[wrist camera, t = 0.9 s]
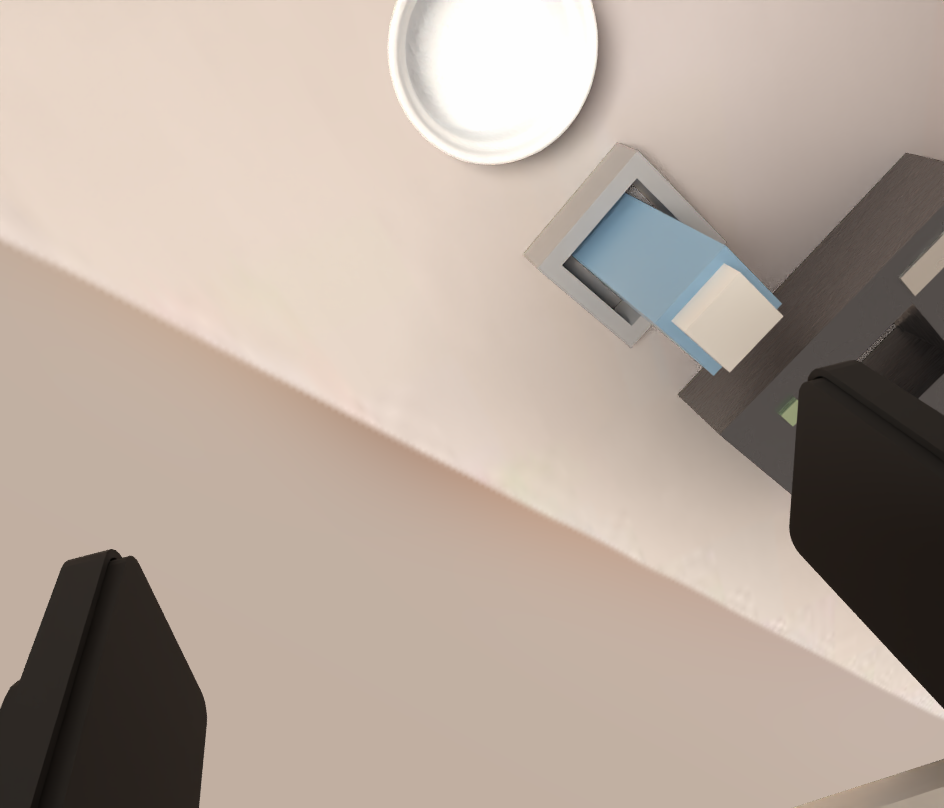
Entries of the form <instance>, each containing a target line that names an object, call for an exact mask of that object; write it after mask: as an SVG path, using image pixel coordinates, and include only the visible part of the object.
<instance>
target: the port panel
mask: <svg viewBox="0 0 944 808" xmlns="http://www.w3.org/2000/svg"><path fill="white" fill-rule="evenodd" d="M773 295H774V296H775V297H776V298H777V299H778V300H779V301H780V302H781V303H782V304H781V305H780V307H779V308H778V309H777V310H778V311H779V312H780V313H781V314H782V315H783V317H782V318H781V319H780V320H779V321H778V322H777V324H776V325H775V326H774V327H773V328H772V329H771V330H770V331H769V332H768V333H767V334H766V335H765V336H764V337H763V338H762V339H761V340H760V341H759V342H758V343H757V344H756V346H755V347H754V348H753V349H752V350H751V351H750V352H749V353H748V354H747V355H746V356H745V357H744V358H743V359H742V360H741V361H740V362H739V363H738V364H737V365H736V366H735V368H734V369H733V370H732V371H731V372H729V371H727V370H726V369H725V368H724V367H722V368H721V369H720V370H719V371H718V372H717V373H716V374H715V375H714V376H713V375H712V374H711V373H710V372H708V371H707V370H706V369H705V368H703V369H702V370H701V371H700V372H699V373H698V374H697V375H696V376H695V377H694V378H693V379H692V380H691V381H690V382H689V383H688V384H687V386H686V387H685V388H684V389H683V390H682V391H681V392H680V393H679V394H678V395H679V396H680V397H681V398H682V399H683V400H684V401H685V402H686V403H687V404H688V405H689V406H690V407H691V408H692V409H693V410H694V411H695V412H696V413H697V414H699V415H700V416H701V417H702V418H703V419H704V420H705V421H706V422H707V423H708V424H709V425H710V426H711V427H712V428H713V429H714V430H715V431H716V432H717V433H718V434H720V435H721V436H722V437H723V438H724V439H725V440H727V441H728V442H729V443H730V444H731V445H733V446H734V447H735V448H736V449H737V450H739V451H740V452H741V453H742V454H743V455H745V456H746V457H747V458H748V459H749V460H751V461H752V462H753V463H754V464H755V465H757V466H758V467H759V468H760V469H761V470H763V471H764V472H765V473H766V474H767V475H769V476H770V477H771V478H772V479H773V480H775V481H776V482H777V483H778V484H779V485H781V486H782V487H783V488H784V489H785V490H787V491H788V492H789V493H790V494H791V495H792V482H793V467H794V453H795V439H796V424H797V410H798V396H799V389H800V387H801V385H802V384H803V383H804V382H807V380H808V377H809V375H810V373H811V372H812V371H813V370H815V369H817V368H821V367H825V366H829V365H833V364H837V363H840V362H844V361H848V360H857V359H858V358H859V357H860V356H861V355H862V354H863V353H864V352H865V351H866V350H867V349H868V348H869V347H870V346H871V345H872V344H873V343H874V342H875V341H876V340H877V339H878V338H879V337H880V336H881V335H882V334H883V333H884V332H885V331H886V330H887V329H888V328H889V327H890V326H891V325H892V324H893V323H894V324H895V325H896V328H895V329H894V330H893V331H892V332H891V333H890V334H889V335H888V336H887V337H886V338H885V339H884V340H883V341H882V342H881V343H880V344H879V345H878V346H877V347H876V348H875V349H874V350H873V351H872V352H871V353H870V354H869V355H868V356H867V357H866V358H865V359H864V360H863V361H862V362H861V363H863V364H864V365H866V366H867V367H869V368H871V369H872V370H874V371H875V372H877V373H878V374H880V375H882V376H883V377H885V378H886V379H888V380H889V381H891V382H893V383H894V384H896V385H897V386H899V387H900V388H902V389H904V390H905V391H907V392H908V393H910V394H911V395H913V396H915V397H916V398H918V399H919V400H921V401H922V402H924V403H926V404H927V405H929V406H930V407H932V408H933V409H935V410H937V411H938V412H940V413H941V414H943V415H944V162H943V161H939V160H935V159H930V158H926V157H922V156H917V155H913V154H909V153H905V154H904V156H903V157H902V158H901V159H900V160H899V161H898V162H897V163H896V164H895V165H894V166H893V167H892V168H891V169H890V170H889V171H888V173H887V174H886V175H885V176H884V177H883V178H882V179H881V180H880V181H879V182H878V183H877V184H876V185H875V186H874V187H873V188H872V189H871V191H870V192H869V193H868V194H867V195H866V196H865V197H864V198H863V199H862V200H861V201H860V202H859V203H858V204H857V205H856V206H855V207H854V209H853V210H852V211H851V212H850V213H849V214H848V215H847V216H846V217H845V218H844V219H843V220H842V221H841V222H840V223H839V224H838V226H837V227H836V228H835V229H834V230H833V231H832V232H831V233H830V234H829V235H828V236H827V237H826V238H825V239H824V240H823V241H822V242H821V244H820V245H819V246H818V247H817V248H816V249H815V250H814V251H813V252H812V253H811V254H810V255H809V256H808V257H807V258H806V259H805V260H804V262H803V263H802V264H801V265H800V266H799V267H798V268H797V269H796V270H795V271H794V272H793V273H792V274H791V275H790V276H789V277H788V278H787V280H786V281H785V282H784V283H783V284H782V285H781V286H780V287H779V288H778V289H777V290H776V291H775V292H774V293H773Z"/></svg>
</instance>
